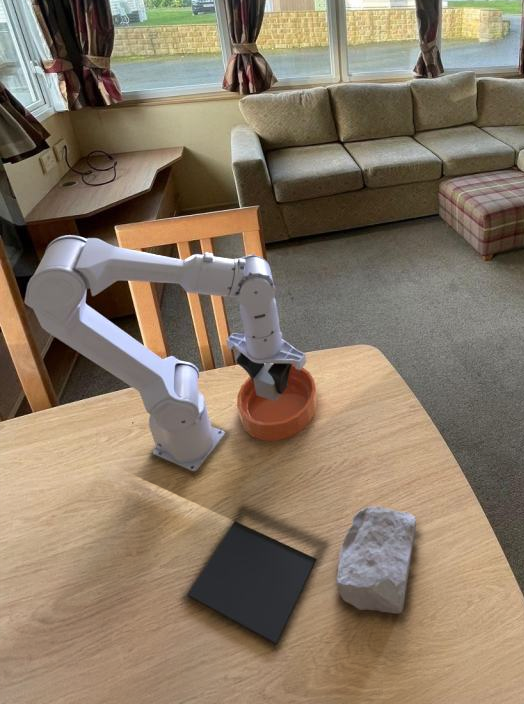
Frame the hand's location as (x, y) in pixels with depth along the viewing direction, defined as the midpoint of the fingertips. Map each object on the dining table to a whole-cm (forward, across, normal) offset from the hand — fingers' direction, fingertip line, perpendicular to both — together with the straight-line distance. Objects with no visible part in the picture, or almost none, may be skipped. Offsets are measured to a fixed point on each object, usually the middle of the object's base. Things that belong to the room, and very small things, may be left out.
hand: (271, 386), depth 85 cm
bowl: (+9, +1, -2) cm, 9 cm away
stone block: (+9, -26, +15) cm, 31 cm away
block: (+1, 0, 0) cm, 1 cm away
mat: (+9, -11, +22) cm, 26 cm away
